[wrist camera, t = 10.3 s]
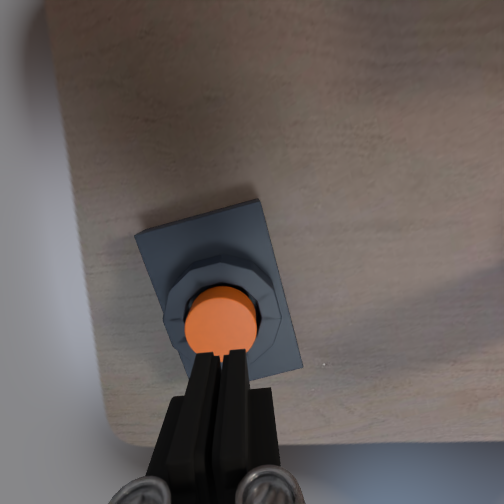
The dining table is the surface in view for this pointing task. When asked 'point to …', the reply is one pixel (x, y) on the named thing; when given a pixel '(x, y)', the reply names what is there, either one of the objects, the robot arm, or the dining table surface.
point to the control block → (222, 279)
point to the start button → (221, 322)
